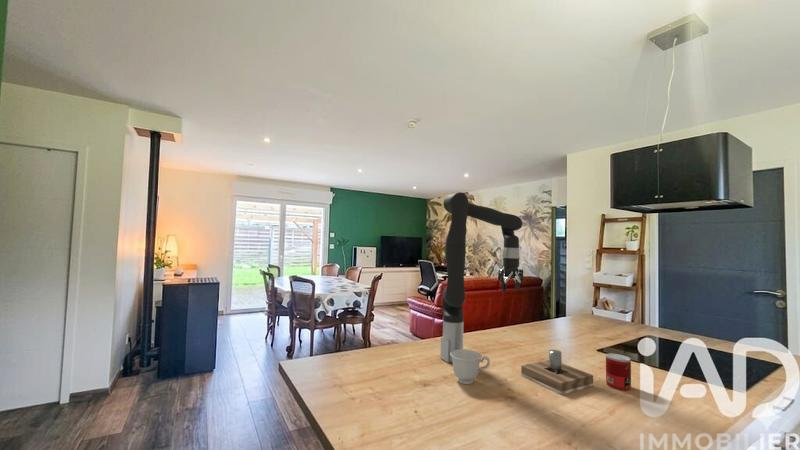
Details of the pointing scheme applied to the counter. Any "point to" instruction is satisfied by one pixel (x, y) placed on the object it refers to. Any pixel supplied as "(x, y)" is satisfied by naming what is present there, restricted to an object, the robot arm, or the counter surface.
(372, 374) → the counter surface
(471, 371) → the teacup
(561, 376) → the socket base
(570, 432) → the counter surface
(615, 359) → the canned food
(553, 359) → the post
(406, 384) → the counter surface
